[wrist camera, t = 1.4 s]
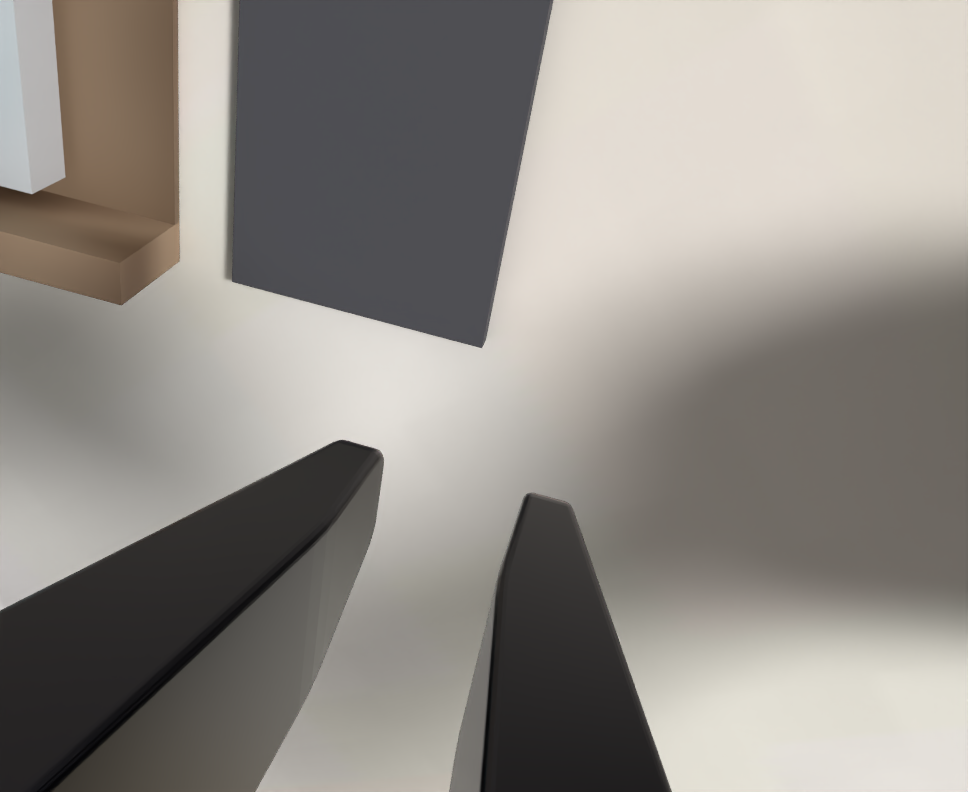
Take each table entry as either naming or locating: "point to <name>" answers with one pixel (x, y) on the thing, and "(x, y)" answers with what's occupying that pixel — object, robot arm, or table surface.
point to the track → (106, 156)
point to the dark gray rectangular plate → (383, 153)
